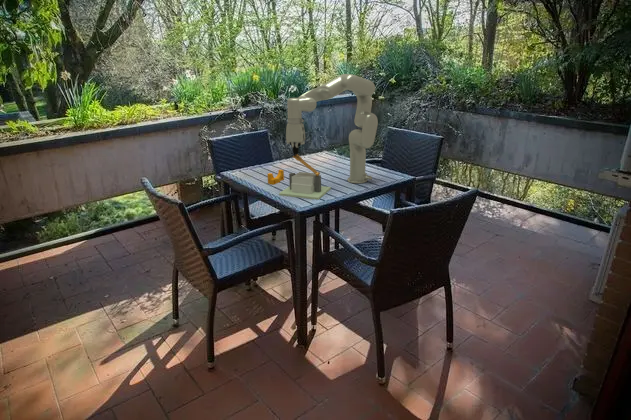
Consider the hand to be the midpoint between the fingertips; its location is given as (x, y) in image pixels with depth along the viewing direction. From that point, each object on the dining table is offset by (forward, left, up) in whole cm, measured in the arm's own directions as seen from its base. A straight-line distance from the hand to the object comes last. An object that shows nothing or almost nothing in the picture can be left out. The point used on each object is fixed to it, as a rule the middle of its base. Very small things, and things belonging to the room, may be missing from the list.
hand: (295, 154), depth 236 cm
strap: (-6, 0, -6) cm, 9 cm away
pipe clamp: (+20, -14, -22) cm, 33 cm away
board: (-5, 0, -22) cm, 23 cm away
